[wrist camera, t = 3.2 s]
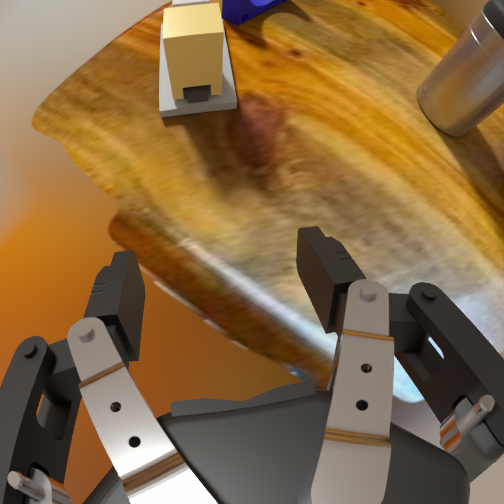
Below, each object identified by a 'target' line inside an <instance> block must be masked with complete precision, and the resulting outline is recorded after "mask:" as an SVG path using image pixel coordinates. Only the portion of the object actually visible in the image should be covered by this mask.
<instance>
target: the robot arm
mask: <svg viewBox="0 0 504 504" xmlns="http://www.w3.org/2000/svg"><path fill="white" fill-rule="evenodd" d="M417 97H418V101H419V104H420V106H421V108H422V110H423V112H424V113H425V114H426V116H427V117H428V118H429V120H430V121H431V122H432V123H433V124H434V125H435V126H436V127H437V128H439V129H440V130H441V131H443V132H444V133H446V134H448V135H450V136H453V137H461V136H463V135H464V134H465V133H467V132H468V131H469V130H472V129H473V128H474V127H475V126H477V125H478V124H479V123H480V122H482V121H483V120H484V119H485V118H486V117H488V116H489V115H490V114H491V113H493V112H494V111H495V110H496V109H497V108H499V107H500V106H501V105H502V104H503V103H504V0H489V1H488V2H487V4H486V5H485V6H484V8H483V9H482V10H481V12H480V13H479V14H478V15H477V16H476V18H475V19H474V20H473V22H472V23H471V24H470V25H469V27H468V28H467V29H466V30H465V32H464V33H463V34H462V35H461V37H460V38H459V39H458V40H457V42H456V43H455V44H454V45H453V47H452V48H451V49H450V50H449V51H448V53H447V54H446V55H445V56H444V58H443V59H442V60H441V61H440V62H439V64H438V65H437V66H436V67H435V69H434V70H433V71H432V72H431V73H430V75H429V76H428V77H427V78H426V79H425V81H424V82H423V83H422V84H421V85H420V87H419V88H418V91H417ZM296 263H297V270H298V274H299V277H300V279H301V281H302V283H303V285H304V287H305V289H306V292H307V294H308V296H309V298H310V300H311V302H312V305H313V307H314V309H315V311H316V313H317V315H318V318H319V320H320V322H321V324H322V326H323V328H324V331H325V333H326V334H328V333H332V332H336V333H337V335H338V339H337V344H336V349H335V355H334V360H333V366H332V371H331V376H330V381H329V385H328V389H327V390H319V389H314V387H313V384H312V381H311V380H310V381H305V382H301V383H297V384H292V385H286V386H281V387H277V388H275V389H272V390H270V391H268V392H265V393H263V394H261V395H258V396H256V397H253V398H251V399H249V400H245V401H229V400H217V399H207V398H206V399H195V400H185V401H175V402H171V410H172V412H169V413H166V414H164V415H162V416H160V417H158V418H156V416H155V415H154V413H153V411H152V410H151V408H150V407H149V405H148V403H147V402H146V400H145V398H144V397H143V395H142V393H141V392H140V390H139V388H138V387H137V385H136V383H135V381H134V379H133V378H132V376H131V374H130V372H129V371H128V369H129V361H139V351H140V339H141V329H142V319H143V310H144V301H145V286H144V281H143V278H142V275H141V271H140V268H139V265H138V261H137V258H136V254H135V252H134V250H127V251H120V252H115V253H114V256H113V259H112V262H111V266H104V267H103V269H102V270H101V271H100V272H99V273H98V275H97V276H96V279H95V282H94V286H93V289H92V292H91V293H92V294H91V295H90V299H89V301H88V305H87V308H86V311H85V315H84V318H83V319H82V320H80V321H78V322H76V323H75V324H74V325H73V326H72V327H71V328H70V330H69V332H68V335H67V338H66V339H64V340H61V341H58V342H56V343H53V344H50V345H48V344H47V342H46V341H45V340H44V339H43V338H42V337H39V336H33V337H30V338H27V339H26V340H24V341H23V342H22V343H21V344H20V345H19V346H18V347H17V349H16V351H15V354H14V356H13V358H12V360H11V363H10V365H9V367H8V370H7V372H6V374H5V377H4V379H3V382H2V384H1V387H0V504H73V503H72V501H71V499H70V495H69V492H68V490H67V489H66V487H65V486H64V485H63V484H64V478H65V472H66V466H67V460H68V455H69V449H70V445H71V439H72V435H73V431H74V426H75V421H76V417H77V413H78V409H79V405H80V401H81V398H83V400H84V402H85V405H86V407H87V410H88V412H89V414H90V417H91V419H92V421H93V423H94V426H95V428H96V430H97V433H98V435H99V437H100V439H101V441H102V443H103V445H104V447H105V449H106V451H107V453H108V455H109V457H110V459H111V461H112V463H113V466H112V468H111V469H110V470H109V471H108V473H107V474H106V475H105V476H104V478H103V479H102V480H101V481H100V483H99V484H98V485H97V486H96V488H95V489H94V490H93V492H92V493H91V494H90V495H89V496H88V498H87V499H86V500H85V501H84V503H83V504H468V503H469V495H470V483H471V482H472V481H473V480H474V479H475V478H476V477H478V476H479V475H480V474H481V473H482V472H484V471H485V470H486V469H487V468H488V467H489V466H491V465H492V464H493V463H494V462H496V461H497V460H498V459H500V458H501V457H503V456H504V359H503V358H502V357H501V355H500V354H499V353H498V352H497V351H496V349H495V348H494V347H493V346H492V345H491V344H490V342H489V341H488V340H487V339H486V338H485V337H484V336H483V334H482V333H481V332H480V331H479V330H478V329H477V328H476V327H475V325H474V324H473V323H472V322H471V321H470V320H469V319H468V318H467V317H466V316H465V314H464V313H463V312H462V311H461V310H460V309H459V308H458V307H457V306H456V305H455V304H454V303H453V302H452V301H451V300H450V299H449V298H448V297H447V295H446V294H445V293H444V292H443V291H442V290H441V289H439V288H438V287H437V286H435V285H433V284H430V283H425V282H420V283H416V284H414V285H413V286H412V287H411V289H410V292H409V294H396V293H388V291H387V290H386V288H385V287H384V286H383V285H382V284H380V283H378V282H376V281H373V280H369V279H367V278H366V277H365V275H364V274H363V273H362V271H361V270H360V268H359V267H358V265H357V264H356V263H355V261H354V260H353V259H352V258H351V256H350V254H349V253H348V252H347V250H346V249H345V248H344V246H343V245H342V243H340V242H339V241H337V240H336V239H334V238H333V237H325V235H324V234H323V233H322V231H321V230H320V228H319V227H318V226H314V227H305V228H299V230H298V237H297V259H296ZM429 337H431V338H432V339H433V341H434V342H435V343H436V344H437V345H438V347H439V348H440V349H441V351H442V353H443V356H444V359H443V358H442V357H441V355H440V354H439V353H438V352H437V350H436V349H435V348H434V347H433V345H432V344H431V343H430V342H429V340H428V339H429ZM394 355H395V357H396V358H397V360H398V361H399V362H400V364H401V365H402V367H403V368H404V370H405V371H406V372H407V374H408V375H409V377H410V378H411V380H412V381H413V383H414V384H415V386H416V387H417V388H418V390H419V391H420V393H421V394H422V396H423V397H424V399H425V400H426V402H427V403H428V405H429V406H430V408H431V409H432V411H433V412H434V414H435V415H436V417H437V418H438V420H439V421H440V423H441V427H440V438H441V439H440V445H441V447H442V448H443V449H444V450H442V449H441V448H438V447H437V446H435V445H433V444H431V443H429V442H427V441H425V440H423V439H421V438H420V437H418V436H416V435H414V434H412V433H410V432H409V431H406V430H405V429H403V428H401V427H399V426H398V425H396V424H394V423H392V422H391V421H390V420H391V408H392V394H393V374H394ZM42 394H43V395H44V397H43V400H42V403H41V407H40V410H39V414H38V417H37V416H36V413H37V408H38V405H39V402H40V399H41V395H42Z"/></svg>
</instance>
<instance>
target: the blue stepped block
mask: <svg viewBox="0 0 504 504" xmlns="http://www.w3.org/2000/svg"><path fill="white" fill-rule="evenodd" d="M285 1H287V0H223V4H222V18H223V19H225V20H227V21H229V22H231V23H234V24H236V25H238V26H239V25H240V24H242V23H244V22H246V21H248V20H249V19H251V18H253V17H255V16H257V15H259V14H261V13H262V12H264V11H266V10H268V9H270V8H272V7H274V6H276V5H278V4H280V3H282V2H285Z"/></svg>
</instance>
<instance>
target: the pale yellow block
mask: <svg viewBox="0 0 504 504" xmlns="http://www.w3.org/2000/svg"><path fill="white" fill-rule="evenodd" d="M223 41H224V30H223V24H222V19H221V13H220V8H219V3H212V4H200V5H190V6H181V7H173V8H166V9H164V21H163V44H164V50H165V56H166V62H167V68H168V73H169V79H170V85H171V90H172V96H173V100H178V99H184V92H183V88H186V87H194V86H203V85H210V91H211V96H212V95H222V67H223Z"/></svg>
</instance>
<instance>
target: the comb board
mask: <svg viewBox="0 0 504 504" xmlns="http://www.w3.org/2000/svg"><path fill="white" fill-rule="evenodd" d="M200 4H209V0H173V7H181V6H190V5H200ZM221 19H222V17H221ZM222 24H223V21H222ZM223 30H224V26H223ZM183 92H184V99H178V100H173V96H172V90H171V85H170V79H169V73H168V68H167V62H166V56H165V50H164V44H163V24H161V42H160V82H159V109H160V115H161V118H163V117H170V116H177V115H184V114H192V113H200V112H209V111H218V110H229V109H237V98H236V93H235V87H234V81H233V76H232V70H231V65H230V59H229V54H228V48H227V43H226V37H225V32H224V41H223V67H222V95H212V96H211V91H210V85H203V86H194V87H186V88H183Z"/></svg>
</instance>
